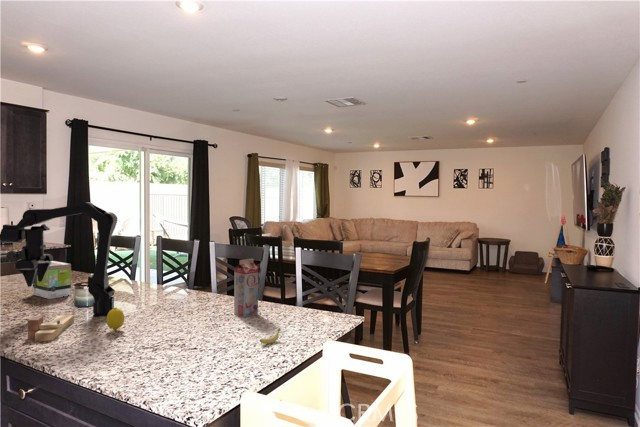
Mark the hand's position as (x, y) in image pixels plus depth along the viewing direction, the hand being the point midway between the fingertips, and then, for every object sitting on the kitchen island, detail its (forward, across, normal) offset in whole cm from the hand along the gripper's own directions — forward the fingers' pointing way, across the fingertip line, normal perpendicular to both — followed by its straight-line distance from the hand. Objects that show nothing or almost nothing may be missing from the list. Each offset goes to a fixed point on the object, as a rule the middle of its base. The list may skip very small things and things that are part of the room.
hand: (35, 283), depth 160 cm
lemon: (+13, +22, +33) cm, 42 cm away
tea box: (+13, -36, -7) cm, 39 cm away
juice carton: (+13, +9, +78) cm, 80 cm away
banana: (+13, +43, +84) cm, 95 cm away
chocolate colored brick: (+13, +24, +12) cm, 30 cm away
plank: (+12, +19, +14) cm, 26 cm away
